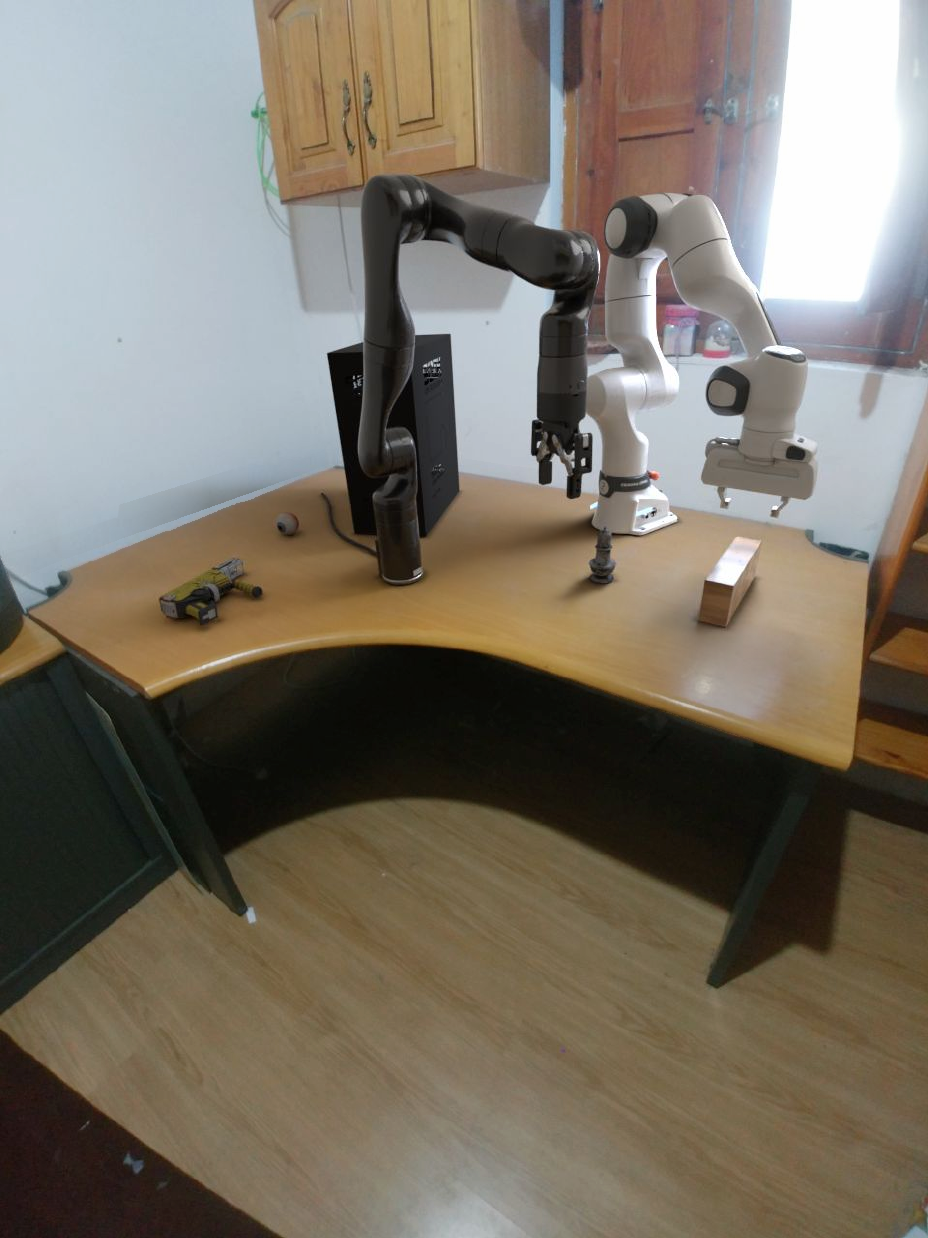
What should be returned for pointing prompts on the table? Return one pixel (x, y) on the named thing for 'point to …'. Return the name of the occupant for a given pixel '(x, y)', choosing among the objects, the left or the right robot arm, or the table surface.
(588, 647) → the table surface
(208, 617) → the toy gun
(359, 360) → the cardboard box
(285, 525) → the eyeball
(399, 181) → the left robot arm
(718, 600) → the bar
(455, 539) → the table surface
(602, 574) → the grey chess piece
